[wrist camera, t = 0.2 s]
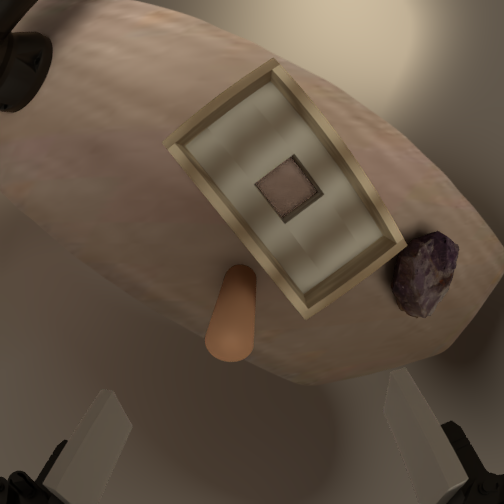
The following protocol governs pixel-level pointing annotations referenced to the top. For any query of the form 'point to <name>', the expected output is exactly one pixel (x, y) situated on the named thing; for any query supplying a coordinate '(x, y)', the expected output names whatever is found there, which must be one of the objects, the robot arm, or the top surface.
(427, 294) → the rock
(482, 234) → the top surface
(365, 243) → the box
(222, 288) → the peg
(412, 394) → the robot arm
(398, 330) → the top surface
